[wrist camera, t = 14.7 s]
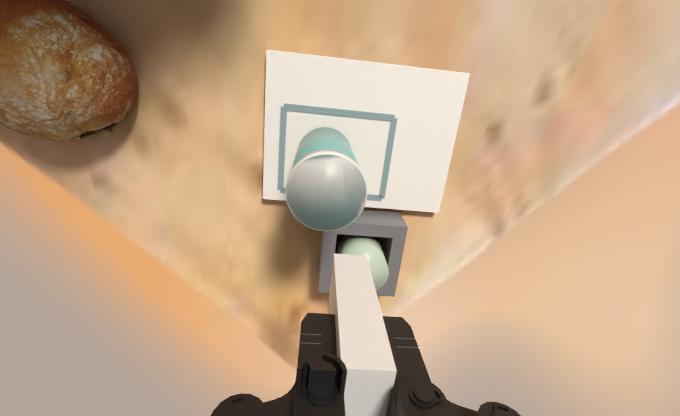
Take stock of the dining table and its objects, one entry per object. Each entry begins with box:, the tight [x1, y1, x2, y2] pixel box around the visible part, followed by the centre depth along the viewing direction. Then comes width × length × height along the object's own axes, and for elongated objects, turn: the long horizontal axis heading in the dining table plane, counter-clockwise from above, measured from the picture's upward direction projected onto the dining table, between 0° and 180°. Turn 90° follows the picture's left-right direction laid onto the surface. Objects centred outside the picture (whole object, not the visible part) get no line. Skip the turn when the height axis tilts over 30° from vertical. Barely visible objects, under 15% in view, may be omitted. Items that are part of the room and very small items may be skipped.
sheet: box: [263, 50, 470, 213], centre depth 29 cm, size 16×12×1 cm
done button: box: [338, 235, 389, 291], centre depth 30 cm, size 4×4×4 cm
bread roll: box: [0, 0, 137, 142], centre depth 24 cm, size 10×10×8 cm
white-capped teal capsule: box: [285, 127, 368, 231], centre depth 24 cm, size 4×4×11 cm
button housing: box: [318, 209, 408, 296], centre depth 31 cm, size 7×7×4 cm
